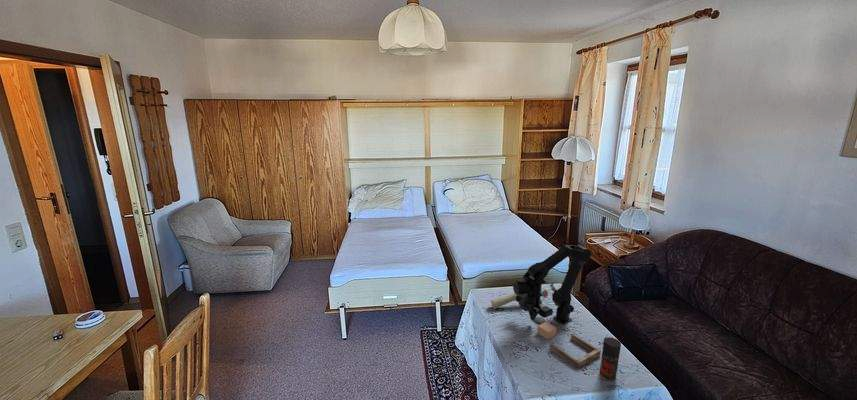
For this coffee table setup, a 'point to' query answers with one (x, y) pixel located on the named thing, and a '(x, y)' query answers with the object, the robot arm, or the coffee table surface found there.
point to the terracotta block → (546, 330)
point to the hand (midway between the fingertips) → (532, 320)
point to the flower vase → (514, 298)
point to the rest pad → (539, 320)
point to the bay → (582, 361)
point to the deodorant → (610, 358)
